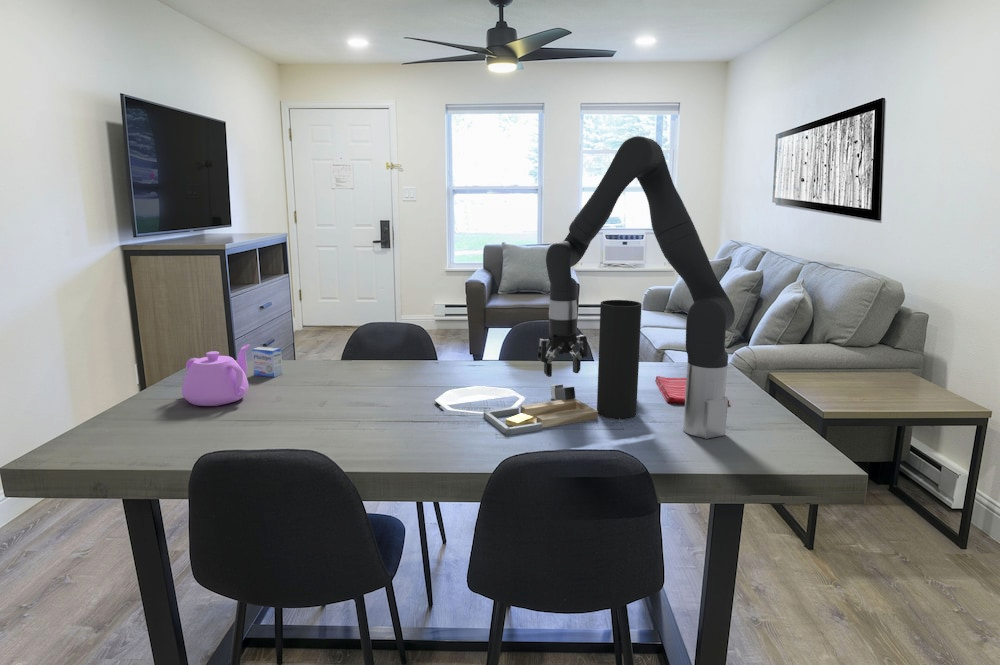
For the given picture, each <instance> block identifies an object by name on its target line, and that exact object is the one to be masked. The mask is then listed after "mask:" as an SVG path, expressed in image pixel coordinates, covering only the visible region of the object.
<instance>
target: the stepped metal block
mask: <svg viewBox="0 0 1000 665" xmlns="http://www.w3.org/2000/svg"><path fill="white" fill-rule="evenodd" d="M549 386H550V387H549V388H550V395H551V396H550V397H551V399H553V401H556V400H563V399H572V398H575V399H576V391H575V386H564V384H553V385H551V384H550V385H549Z"/></svg>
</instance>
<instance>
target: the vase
mask: <svg viewBox="0 0 1000 665" xmlns="http://www.w3.org/2000/svg"><path fill="white" fill-rule="evenodd" d="M642 305H643V304H642V302H639V301H635V300H627V299H611V300H610V299H607V300H602V301H601V302H600V309H599V310H600V311H599V313H600V314H599V336H598V337H599V340H598V363H597V364H598V371H597V372H598V374H597V393H596V395H597V396H596V410H597V411H598V416H600V417H602V418H606V419H610V420H628V419H633V418H635V417H636V416H637V407H638V405H637V404H638V391H639V390H638V387H639V364H640V347H641V346H640V343H641V326H642V325H641V323H642V322H641V321H642Z"/></svg>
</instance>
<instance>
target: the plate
mask: <svg viewBox="0 0 1000 665" xmlns="http://www.w3.org/2000/svg"><path fill="white" fill-rule="evenodd" d="M509 397H517V398H518V400H517V401H516V402H514V404H513V405H512V406H510V407H509V408H513V407H518V408H519V407H521V405H522V403H524V401H525V400H526V397H525V396H523V395H522V394H520V393H518V392H517V391H514V390H512V389H511V388H506V387H493V386H486V385H485V386H483V385H475V386H474V385H473V386H468V387H467V386H466V387H461V388H454V389H449V390H446V391H445V392H444V393H442V394H441V395H439V396H438V397H437V398H435V399H434V400H435V403H436V404H438V405H439V406H440V407H443V409H444V408H445V410H447V411H448V412H458V413H465V414H466V413H467V414H475V415H484V412H485V411H476V410H475V411H474V410H465V409H457V408H452V407H451V405H457V404H465V403H471V402H481V401H485V400H493V399H494V400H495V399H500V398H501V399H502V398H509ZM500 409H501V408H500ZM500 409H498V410H500Z"/></svg>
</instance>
